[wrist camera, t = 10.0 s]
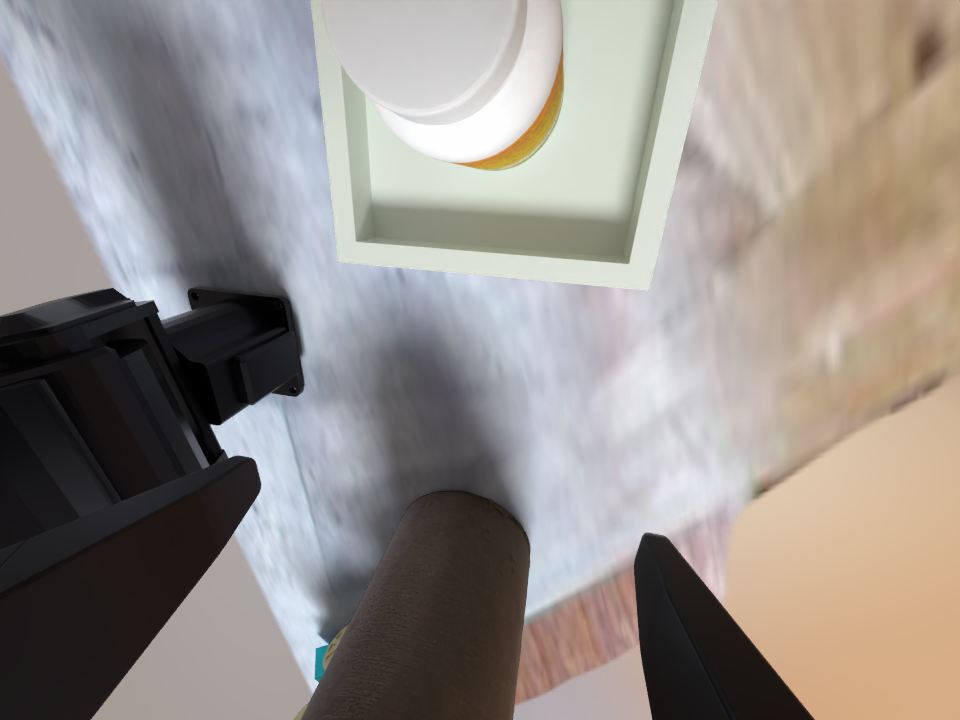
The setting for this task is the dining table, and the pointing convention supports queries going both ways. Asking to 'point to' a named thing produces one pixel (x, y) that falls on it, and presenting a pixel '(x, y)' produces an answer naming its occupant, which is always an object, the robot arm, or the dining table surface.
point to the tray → (532, 160)
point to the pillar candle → (435, 620)
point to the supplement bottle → (456, 73)
